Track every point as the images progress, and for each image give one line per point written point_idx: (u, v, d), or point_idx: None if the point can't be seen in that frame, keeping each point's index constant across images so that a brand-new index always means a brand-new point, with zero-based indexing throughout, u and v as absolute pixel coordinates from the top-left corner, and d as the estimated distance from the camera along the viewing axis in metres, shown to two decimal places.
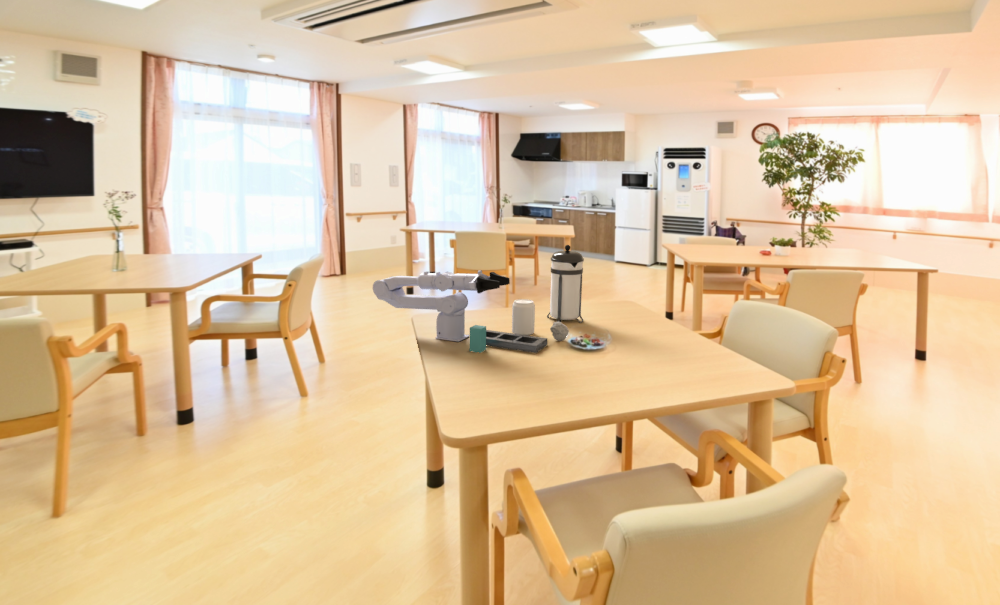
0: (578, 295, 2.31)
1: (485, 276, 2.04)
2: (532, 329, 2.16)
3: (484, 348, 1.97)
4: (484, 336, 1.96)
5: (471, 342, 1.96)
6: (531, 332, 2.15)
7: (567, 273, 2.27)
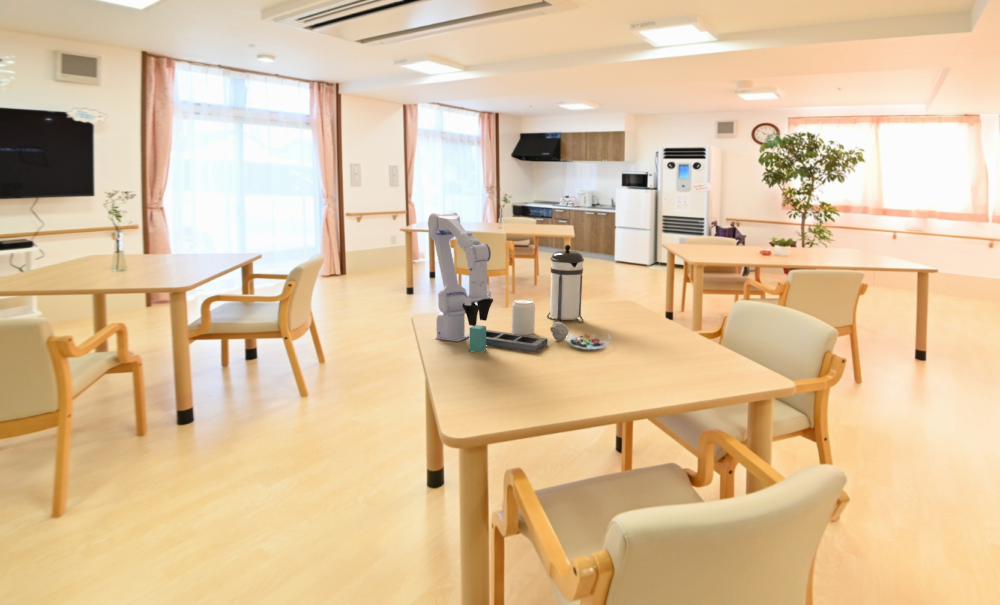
0: (578, 295, 2.31)
1: None
2: (532, 329, 2.16)
3: (484, 348, 1.97)
4: (484, 336, 1.96)
5: (471, 342, 1.96)
6: (531, 332, 2.15)
7: (567, 273, 2.27)
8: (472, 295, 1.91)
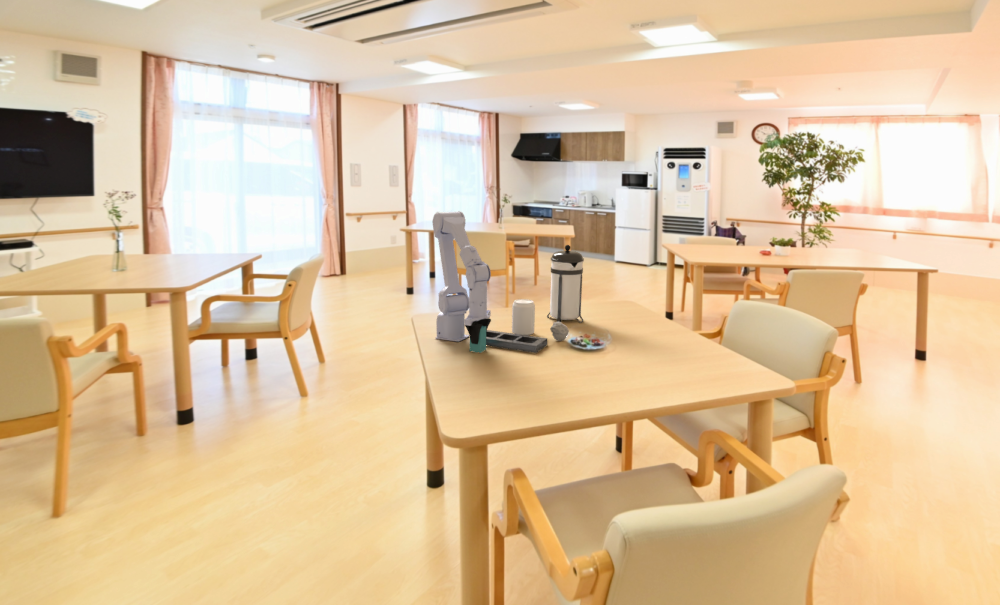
0: (578, 295, 2.31)
1: None
2: (532, 329, 2.16)
3: (484, 348, 1.97)
4: (484, 336, 1.96)
5: None
6: (531, 332, 2.15)
7: (567, 273, 2.27)
8: (472, 315, 1.93)
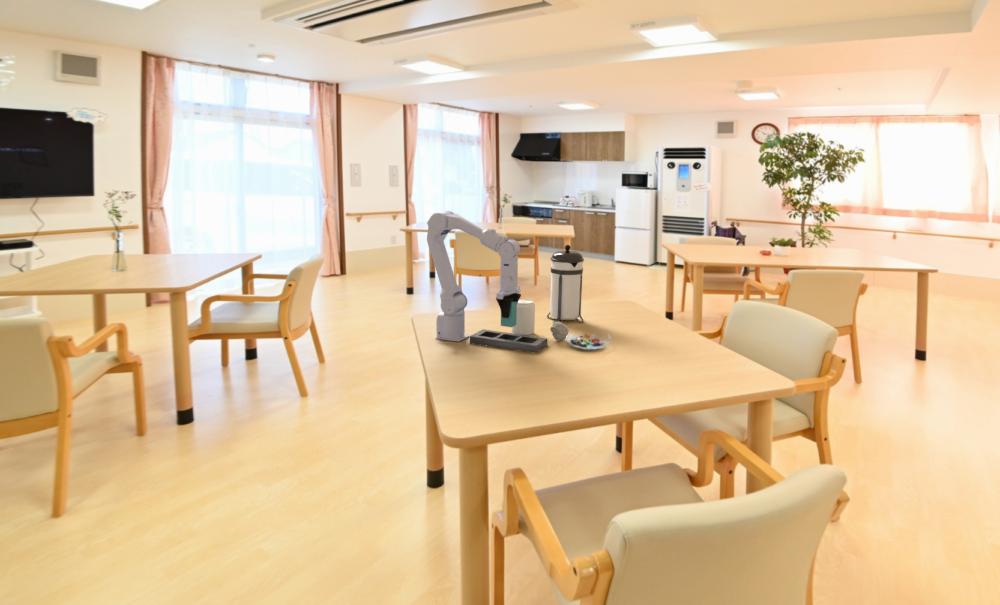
0: (578, 295, 2.31)
1: None
2: (532, 329, 2.16)
3: (515, 323, 2.03)
4: (515, 311, 2.02)
5: (502, 317, 2.01)
6: (531, 332, 2.15)
7: (567, 273, 2.27)
8: (503, 289, 1.98)
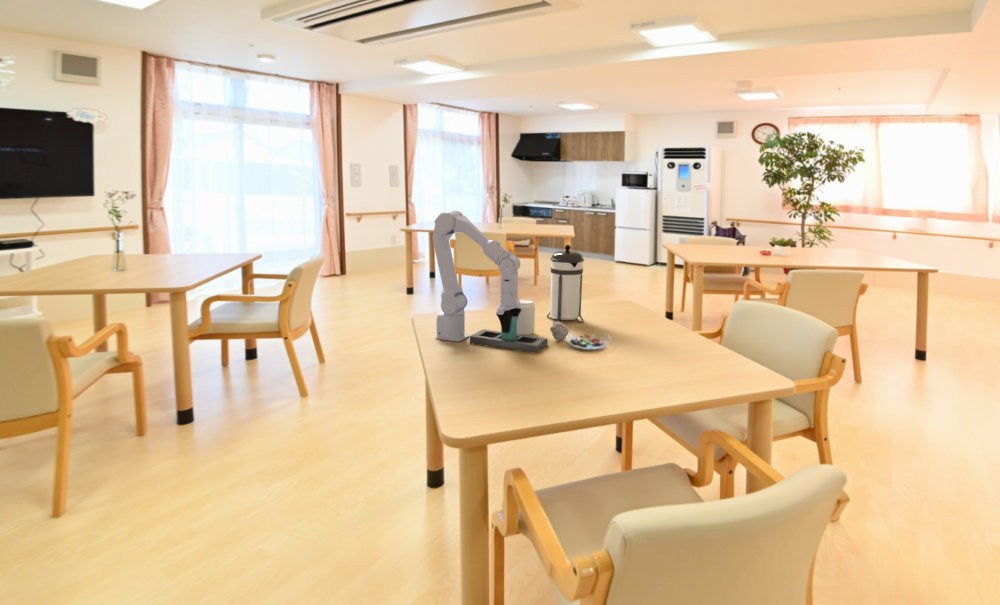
0: (578, 295, 2.31)
1: None
2: (532, 329, 2.16)
3: (515, 337, 2.04)
4: (515, 326, 2.03)
5: None
6: (531, 332, 2.15)
7: (567, 273, 2.27)
8: (504, 304, 1.99)
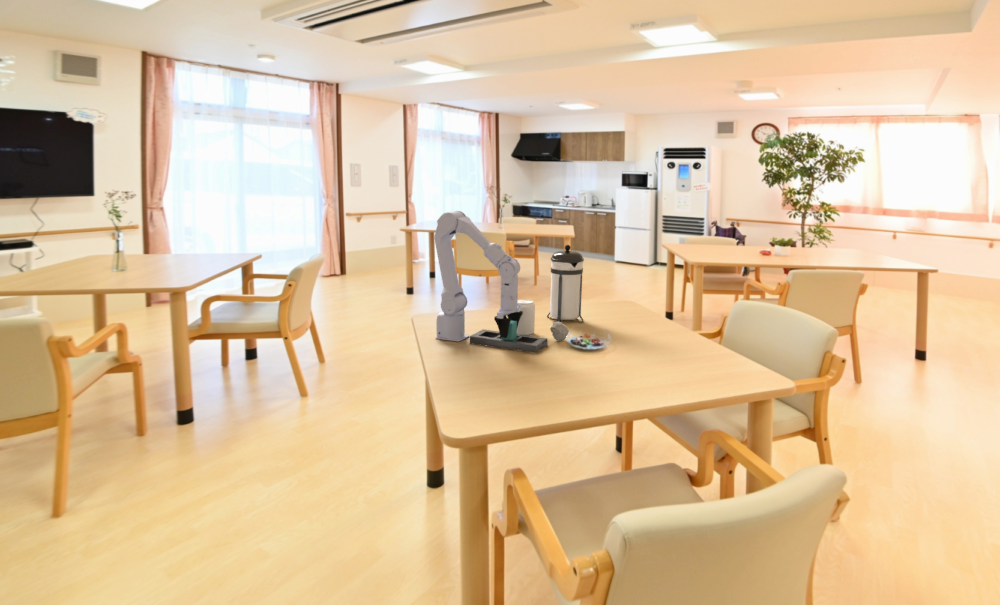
0: (578, 295, 2.31)
1: None
2: (532, 329, 2.16)
3: None
4: (515, 330, 2.04)
5: None
6: (531, 332, 2.15)
7: (567, 273, 2.27)
8: (503, 308, 2.00)
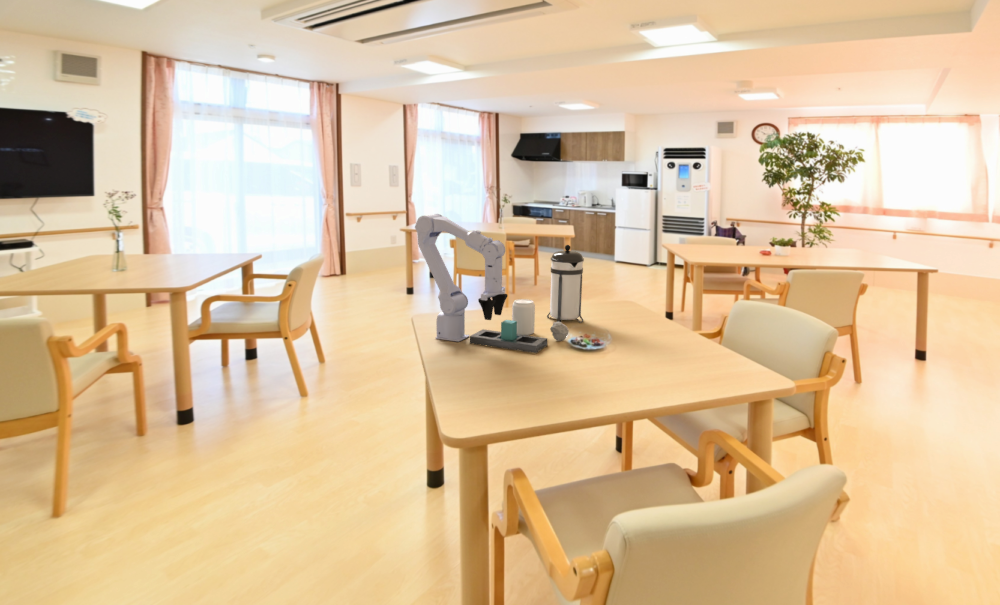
0: (578, 295, 2.31)
1: None
2: (532, 329, 2.16)
3: None
4: (515, 330, 2.04)
5: (502, 336, 2.03)
6: (531, 332, 2.15)
7: (567, 273, 2.27)
8: (488, 290, 1.99)
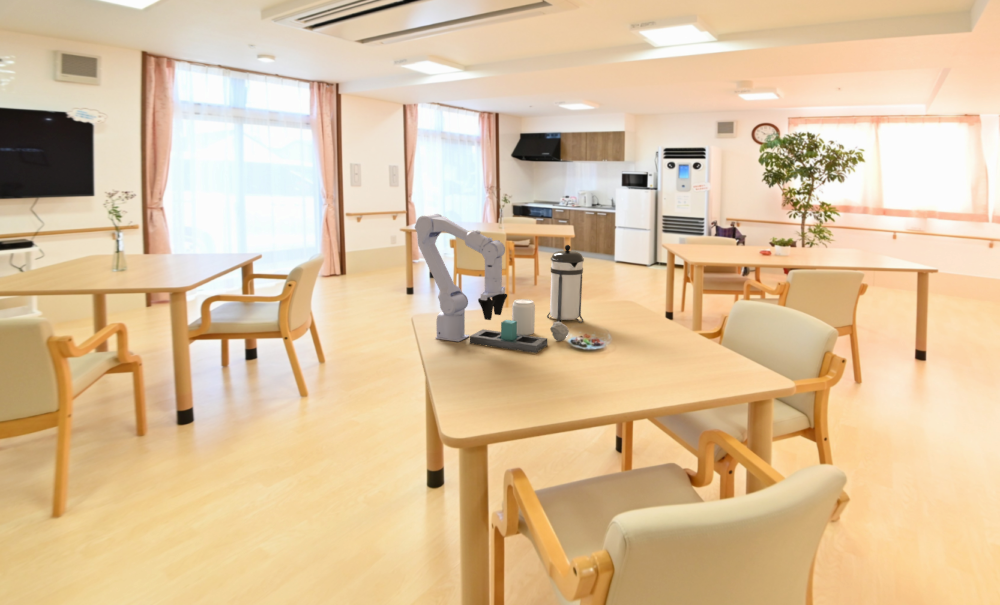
0: (578, 295, 2.31)
1: None
2: (532, 329, 2.16)
3: None
4: (515, 330, 2.04)
5: (502, 336, 2.03)
6: (531, 332, 2.15)
7: (567, 273, 2.27)
8: (487, 290, 1.99)
